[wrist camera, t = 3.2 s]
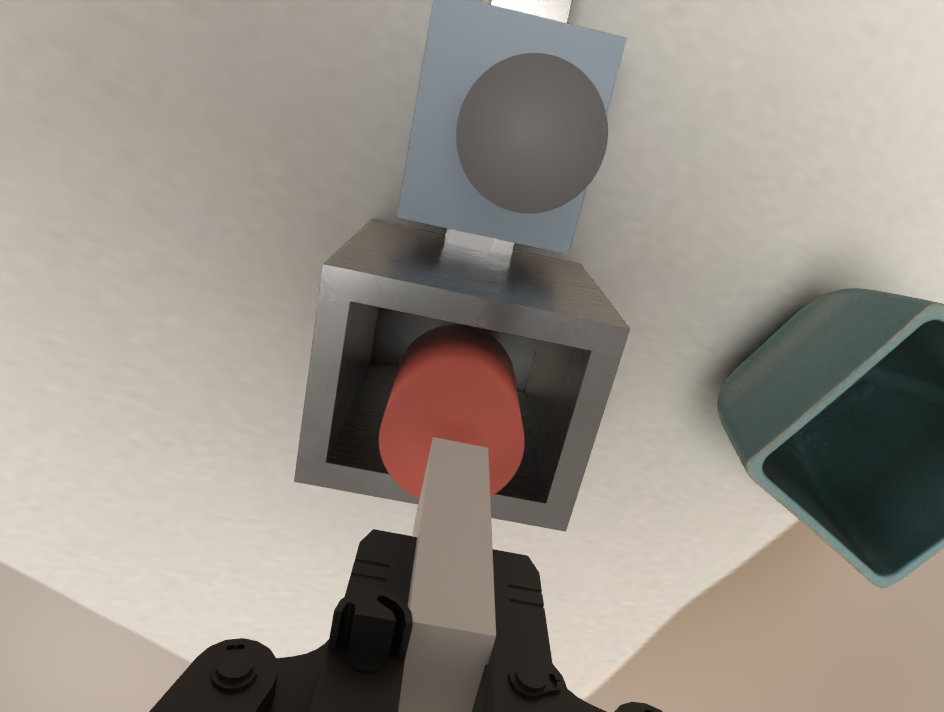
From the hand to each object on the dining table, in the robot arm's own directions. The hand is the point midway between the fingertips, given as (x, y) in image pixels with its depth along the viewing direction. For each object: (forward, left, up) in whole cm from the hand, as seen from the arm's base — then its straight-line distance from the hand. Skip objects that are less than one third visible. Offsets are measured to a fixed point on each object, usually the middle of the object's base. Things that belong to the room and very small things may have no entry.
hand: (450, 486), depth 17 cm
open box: (0, 0, -15) cm, 15 cm away
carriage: (-9, 0, -15) cm, 17 cm away
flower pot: (-1, +17, -15) cm, 23 cm away
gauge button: (0, 0, -7) cm, 7 cm away
